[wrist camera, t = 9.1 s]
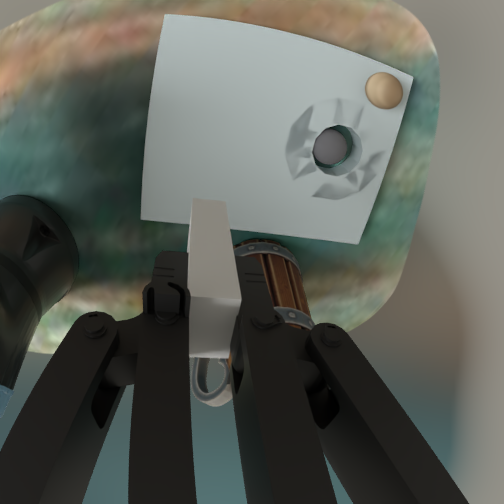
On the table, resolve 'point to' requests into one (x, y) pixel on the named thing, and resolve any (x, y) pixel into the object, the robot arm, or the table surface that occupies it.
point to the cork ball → (383, 90)
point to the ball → (329, 147)
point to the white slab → (263, 129)
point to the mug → (284, 302)
